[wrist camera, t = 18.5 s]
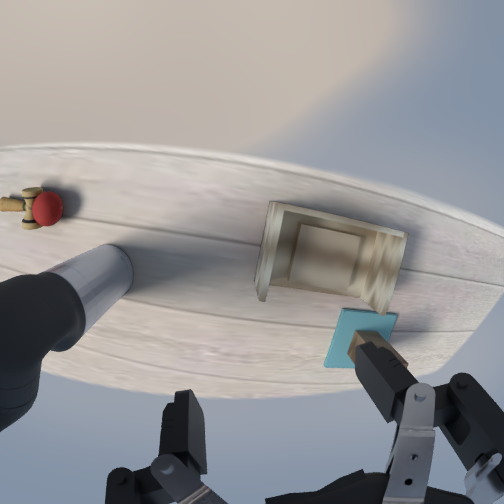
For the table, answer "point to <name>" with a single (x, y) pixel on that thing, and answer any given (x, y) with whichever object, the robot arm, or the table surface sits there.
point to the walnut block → (376, 338)
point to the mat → (345, 332)
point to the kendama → (35, 207)
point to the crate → (329, 255)
